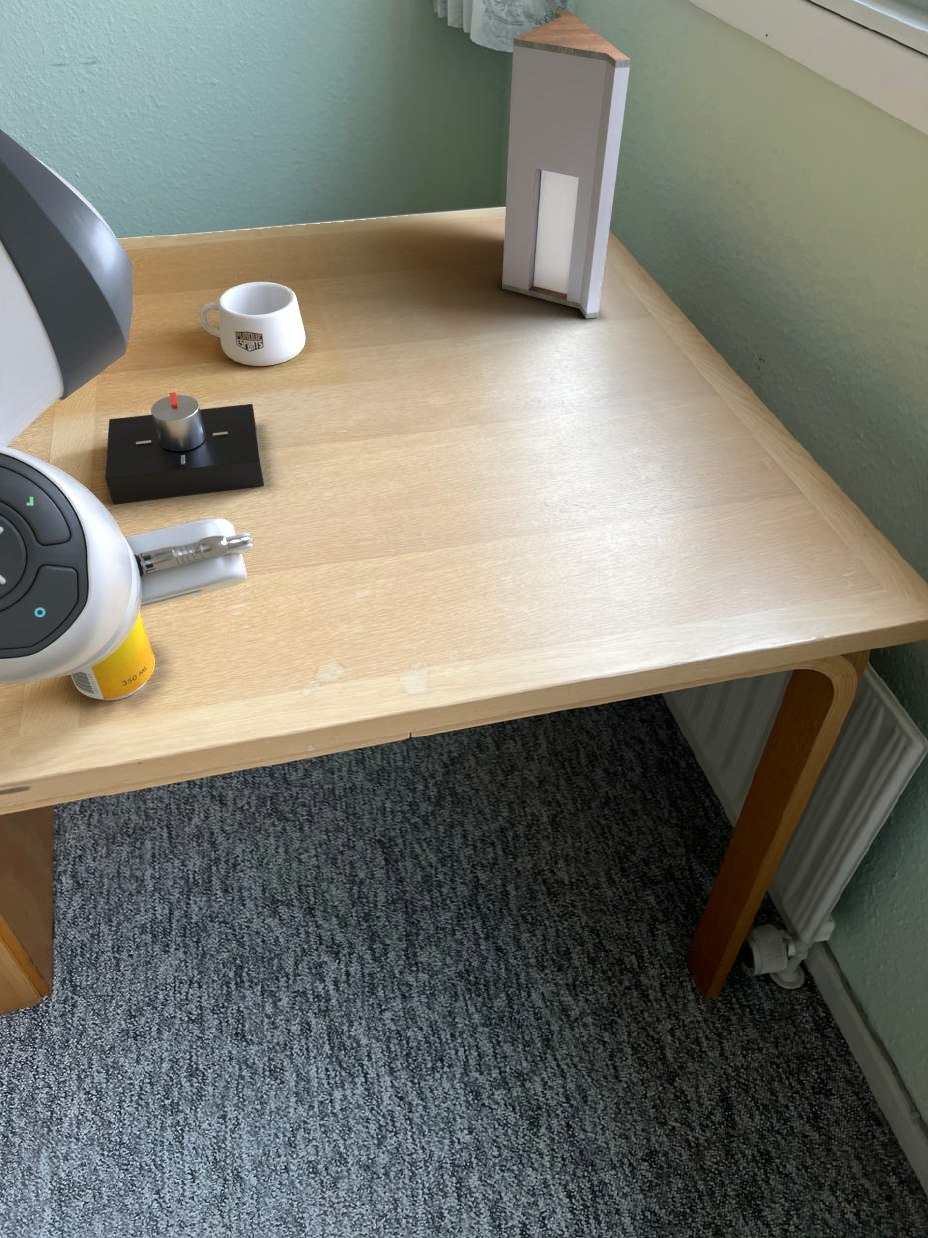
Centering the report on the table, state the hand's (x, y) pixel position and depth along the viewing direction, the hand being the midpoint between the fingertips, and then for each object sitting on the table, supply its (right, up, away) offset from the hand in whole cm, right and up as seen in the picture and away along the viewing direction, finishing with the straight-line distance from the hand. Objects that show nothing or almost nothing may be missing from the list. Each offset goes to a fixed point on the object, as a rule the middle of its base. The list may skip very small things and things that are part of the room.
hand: (78, 601), depth 58 cm
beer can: (-3, -6, +14) cm, 15 cm away
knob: (-3, +16, +31) cm, 35 cm away
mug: (0, +31, +49) cm, 58 cm away
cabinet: (+34, +43, +62) cm, 83 cm away
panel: (-3, +14, +33) cm, 36 cm away
